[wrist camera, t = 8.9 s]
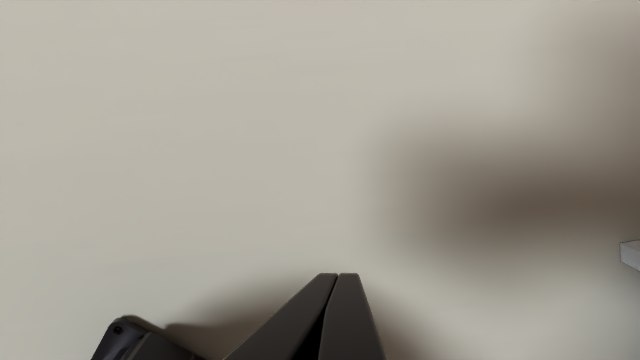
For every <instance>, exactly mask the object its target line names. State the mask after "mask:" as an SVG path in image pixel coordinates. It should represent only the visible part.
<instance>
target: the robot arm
mask: <svg viewBox="0 0 640 360" xmlns="http://www.w3.org/2000/svg"><path fill="white" fill-rule="evenodd" d="M117 326H120V327H121V328H122V330H123V331H120V330H118V329H117ZM91 360H205V359H203V358H201V357H199V356H197V355H195V354H193V353H192V352H190V351H188V350H186V349H184V348H182V347H180V346H178V345H176V344H175V343H173V342H171V341H169V340H167V339H165V338H163V337H161V336H159V335H157V334H155V333H153V332H150V331H148V330H146V329H144V328H142V327H140V326H138V325H136V324H134V323H133V322H131V321H129V320H127V319H124V318H117V319H115V320H114V321H113V322H112V323H111V324H110V326H109V327H108V329H107V331H106V333H105V335H104V336H103V338H102V340H101V342H100V344H99V346H98V348H97V349H96V351H95V353H94V355H93V357H92V359H91ZM223 360H387V357H386V354H385V351H384V348H383V346H382V343H381V340H380V337H379V334H378V331H377V328H376V325H375V322H374V319H373V316H372V313H371V310H370V307H369V304H368V301H367V298H366V295H365V292H364V289H363V286H362V283H361V280H360V277H359V275H358V274H357V273H341V274H339V276H338V274H336V273H320V274H318V275H317V276H316V277H315V278H314V279H312V280H311V281H310V282H309V283H308V284H307V285H306V286H305V287H304V288H302V289H301V290H300V291H299V292H298V293H297V294H296V295H295V296H293V297H292V298H291V299H290V300H289V301H288V302H287V303H286V304H285V305H283V306H282V307H281V308H280V309H279V310H278V311H277V312H276V313H274V314H273V315H272V316H271V317H270V318H269V319H268V320H267V321H266V322H264V323H263V324H262V325H261V326H260V327H259V328H258V329H257V330H255V331H254V332H253V333H252V334H251V335H250V336H249V337H248V338H247V339H245V340H244V341H243V342H242V343H241V344H240V345H239V346H238V347H236V348H235V349H234V350H233V351H232V352H231V353H230V354H229V355H228V356H226V357H225V358H224V359H223Z"/></svg>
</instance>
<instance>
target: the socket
mask: <svg viewBox="0 0 640 360" xmlns="http://www.w3.org/2000/svg"><path fill="white" fill-rule="evenodd" d="M620 251H621V261H622V262H623V263H625V264H627V265H629V266H631V267H632V268H634V269H636V270H638V271H640V240H637V241H630V242H624V243H620Z"/></svg>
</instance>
